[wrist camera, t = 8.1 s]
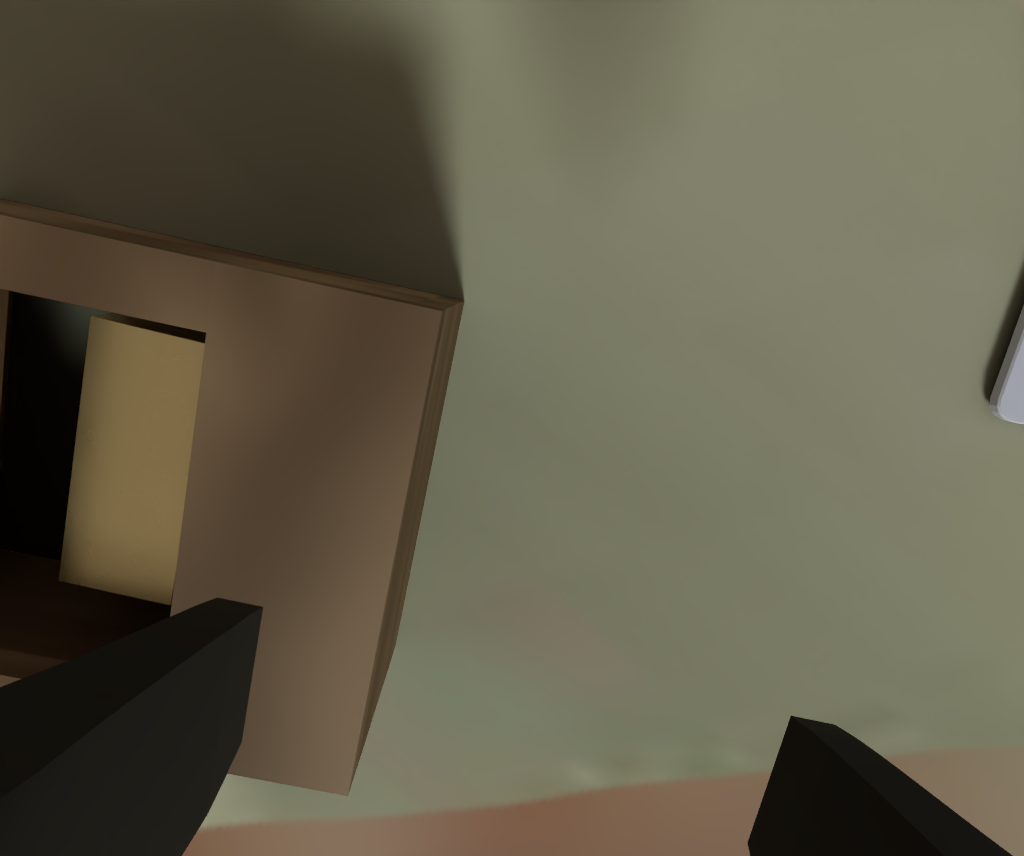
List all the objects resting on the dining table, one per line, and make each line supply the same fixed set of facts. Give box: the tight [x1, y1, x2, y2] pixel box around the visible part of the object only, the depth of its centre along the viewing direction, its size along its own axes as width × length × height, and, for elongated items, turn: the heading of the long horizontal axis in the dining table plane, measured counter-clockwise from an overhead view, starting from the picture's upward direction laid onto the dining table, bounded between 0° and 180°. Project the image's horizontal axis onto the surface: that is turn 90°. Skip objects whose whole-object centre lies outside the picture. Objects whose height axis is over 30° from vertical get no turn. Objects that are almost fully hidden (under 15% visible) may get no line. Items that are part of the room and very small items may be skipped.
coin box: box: [0, 199, 464, 796], centre depth 16 cm, size 12×10×6 cm
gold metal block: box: [59, 314, 206, 605], centre depth 17 cm, size 2×6×4 cm, turn 166°
